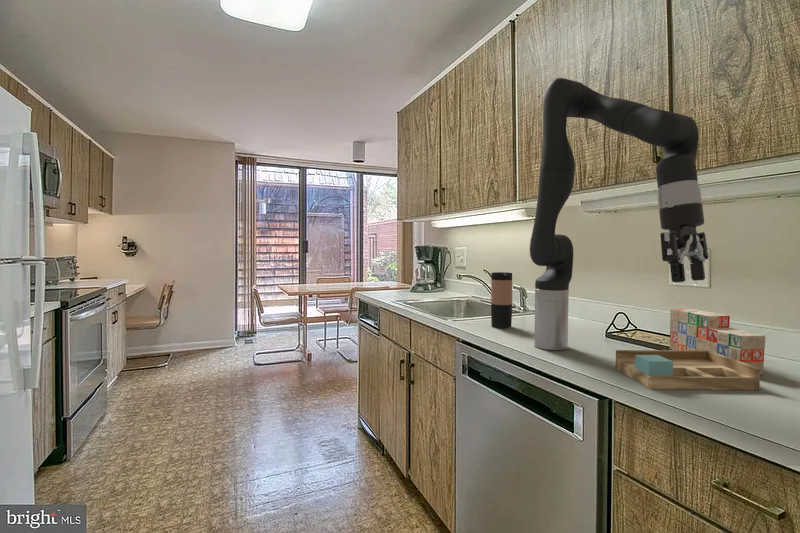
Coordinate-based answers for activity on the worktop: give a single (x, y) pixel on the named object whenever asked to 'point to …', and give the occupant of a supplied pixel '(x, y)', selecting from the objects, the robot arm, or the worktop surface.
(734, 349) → the stack of blocks
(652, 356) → the block
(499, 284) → the travel mug
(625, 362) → the board
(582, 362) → the worktop surface
